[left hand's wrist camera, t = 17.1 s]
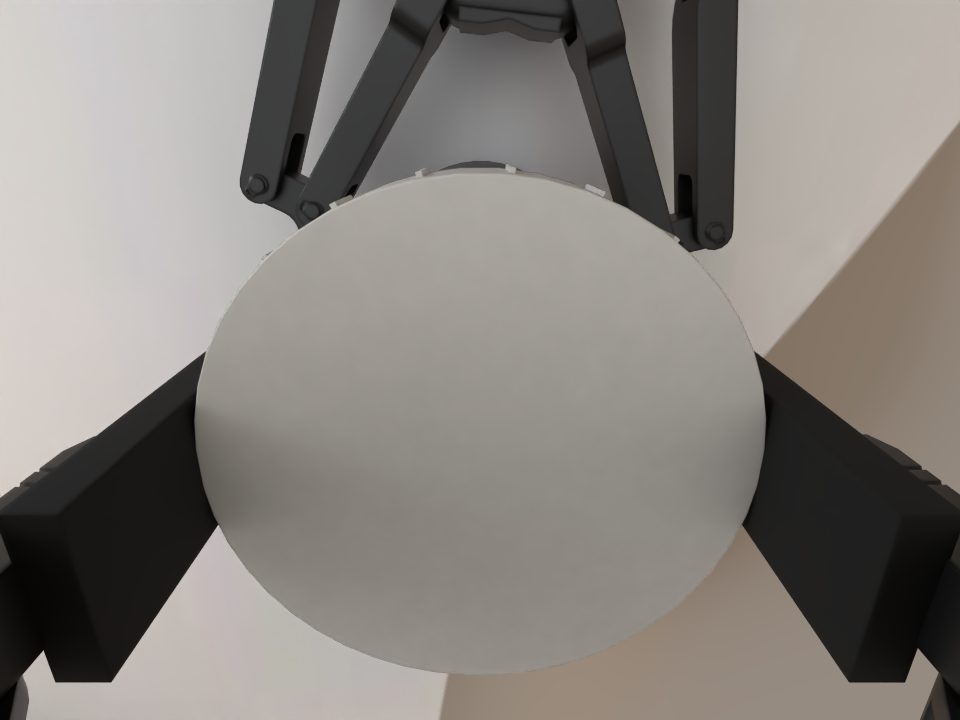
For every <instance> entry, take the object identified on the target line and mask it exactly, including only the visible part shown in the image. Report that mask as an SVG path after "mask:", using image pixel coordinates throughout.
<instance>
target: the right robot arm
mask: <svg viewBox="0 0 960 720" xmlns="http://www.w3.org/2000/svg"><path fill="white" fill-rule="evenodd" d="M339 2H340V0H274V2H273V8H272V13H271V18H270V23H269V29H268V34H267V39H266V44H265V50H264V55H263V60H262V65H261V71H260V76H259V81H258V86H257V92H256V97H255V102H254V107H253V113H252V118H251V123H250V128H249V134H248V139H247V144H246V149H245V155H244V160H243V165H242V170H241V176H240V187H241V190H242V193H243V194H244V195H245V196H246V198H247V199H248V200H250V201H252V202H254V203H259V204H263V203H264V204H266V205H268V206H271V207H273V208H275V209H277V210H279V211H281V212H283V213H285V214H287V215H288V216H290V217H291V218H292V219H293V220H294V222H295V223H296V225H297V227H298V229H301V228H302V227H304V226H305V225H307V224H308V223H310V222H312V221H313V220H315V219H316V218H318V217H320V216H321V215H323V214H324V213H326V212H327V211H329V210H331V207H330V206H329V204H331V203H333V202H335V201H337V200H340V199H342V198H344V197H347V196H349V195H352V197H354V196H355V194H356V192H357V190H358V188H359V187H360V185H361V183H362V181H363V179H364V177H365V176H366V174H367V172H368V170H369V168H370V167H371V165H372V163H373V161H374V159H375V158H376V156H377V154H378V152H379V150H380V148H381V147H382V145H383V143H384V141H385V139H386V138H387V136H388V134H389V132H390V130H391V129H392V127H393V125H394V123H395V121H396V120H397V118H398V116H399V114H400V112H401V110H402V109H403V107H404V105H405V103H406V101H407V100H408V98H409V96H410V94H411V92H412V91H413V89H414V87H415V85H416V83H417V81H418V80H419V78H420V76H421V74H422V72H423V71H424V69H425V67H426V65H427V63H428V62H429V60H430V58H431V57H432V56H433V55H434V53H435V52H436V50H437V49H438V47H439V46H440V44H441V42H442V40H443V38H444V37H445V35H446V33H447V31H448V29H449V28H450V26H451V24H452V25H453V26H455V27H457V28H459V29H460V33H469V34H477V35H486V34H492V33H497V32H502V31H509V32H511V33H514V34H516V35H518V36H520V37H523V38H525V39H527V40H530V41H539V42H547V43H552V42H553V41H554V39H559V38H562V41H563V45H564V48H565V51H566V55H567V58H568V61H569V64H570V66H571V69H572V70H573V72H574V74H575V76H576V79H577V82H578V85H579V89H580V92H581V95H582V99H583V102H584V105H585V109H586V112H587V115H588V119H589V122H590V125H591V129H592V132H593V135H594V138H595V142H596V145H597V148H598V152H599V155H600V158H601V162H602V165H603V168H604V172H605V175H606V178H607V182H608V185H609V188H610V192H611V195H612V198H613V202H615V203H617V204H619V205H622V206H624V207H626V208H628V209H630V210H631V211H633V212H634V213H636V214H638V215H639V216H641V217H642V218H644V219H646V220H647V221H649V222H650V223H652V224H654V225H655V226H657V227H658V228H660V229H662V230H664V231H666V232H668V233H670V234H672V235H674V236H676V237H677V238H679V239H680V241H679V242H678V244H680V245H681V246H682V247H683V248H684V249H685V250H687V251H688V252H693V251H697V250H701V249H705V248H706V249H708V250H716V249H719V248H722V247H723V246H725V245H726V244H727V243H728V242H729V240H730V239H731V237H732V233H733V214H734V168H735V123H736V78H737V32H738V0H676V1H675V6H674V13H673V21H672V71H673V141H674V210H675V213H673V214H669V211H668V207H667V203H666V200H665V196H664V192H663V188H662V185H661V181H660V177H659V174H658V170H657V166H656V162H655V159H654V155H653V151H652V148H651V144H650V140H649V137H648V133H647V129H646V125H645V122H644V118H643V114H642V111H641V107H640V103H639V99H638V96H637V92H636V88H635V85H634V81H633V77H632V73H631V70H630V66H629V62H628V59H627V55H626V49H625V44H626V37H625V31H624V26H623V22H622V19H621V15H620V11H619V7H618V4H617V0H397V1H396V3H395V5H394V8H393V10H392V13H391V18H390V22H389V24H388V26H387V28H386V30H385V32H384V34H383V36H382V38H381V40H380V42H379V44H378V46H377V48H376V50H375V52H374V54H373V55H372V57H371V59H370V61H369V63H368V65H367V67H366V69H365V71H364V73H363V75H362V77H361V79H360V81H359V82H358V84H357V86H356V88H355V90H354V92H353V94H352V96H351V98H350V100H349V102H348V104H347V106H346V108H345V109H344V111H343V113H342V115H341V117H340V119H339V121H338V123H337V125H336V127H335V129H334V131H333V133H332V135H331V136H330V138H329V140H328V142H327V144H326V146H325V148H324V150H323V152H322V154H321V156H320V158H319V160H318V162H317V163H316V165H315V167H314V169H313V171H312V173H311V175H310V177H309V178H308V177H306V176H304V175H302V174H301V170H302V166H303V161H304V157H305V152H306V148H307V143H308V139H309V135H310V130H311V126H312V121H313V117H314V113H315V108H316V104H317V99H318V95H319V91H320V86H321V82H322V77H323V73H324V68H325V64H326V60H327V55H328V51H329V46H330V42H331V38H332V33H333V29H334V24H335V20H336V15H337V11H338V7H339Z"/></svg>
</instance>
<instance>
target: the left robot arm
mask: <svg viewBox="0 0 960 720" xmlns="http://www.w3.org/2000/svg"><path fill="white" fill-rule="evenodd" d="M754 353H755V357H756V361H757V365H758V369H759V373H760V376H761V380H762V384H763V393H764V403H765V413H766V431H765V449H764V454H763V459H762V464H761V469H760V474H759V479H758V484H757V488H756V491H755V494H754V497H753V499H752V502H751V505H750V508H749V511H748V513H747V516H746V518H745V519H744V521H743V523H742V525H743V527H744V528H745V530H746V531H747V533H748V534H749V536H750V537H751V539H752V540H753V542H754V543H755V544H756V546H757V547H758V549H759V550H760V552H761V553H762V555H763V556H764V558H765V559H766V561H767V562H768V564H769V565H770V567H771V568H772V569H773V571H774V572H775V574H776V575H777V577H778V578H779V580H780V581H781V583H782V584H783V586H784V587H785V589H786V590H787V592H788V593H789V595H790V596H791V597H792V599H793V600H794V602H795V603H796V605H797V606H798V608H799V609H800V611H801V612H802V614H803V615H804V617H805V618H806V620H807V621H808V622H809V624H810V625H811V627H812V628H813V630H814V631H815V633H816V634H817V636H818V637H819V639H820V640H821V642H822V643H823V644H824V646H825V647H826V649H827V650H828V652H829V653H830V655H831V656H832V658H833V659H834V661H835V662H836V664H837V665H838V667H839V668H840V670H841V671H842V673H843V674H844V675H845V677H846V678H847V680H848V681H849V682H898V683H900V682H902V683H904V682H905V681H906V678H907V676H908V673H909V670H910V667H911V665H912V662H913V659H914V657H915V654H916V651H917V649H919V650H920V651H921V652H922V653H923V654H924V656H925V657H926V658H927V659H928V660H929V661H930V663H931V664H932V665H933V666H934V667H935V668H936V670H937V671H938V672H939V673H938V676H937V678H936V681H935V683H934V686H933V688H932V691H931V693H930V696H929V699H928V701H927V704H926V706H925V709H924V711H923V714H922V716H921V719H920V720H960V495H959V494H958V493H957V492H955V491H954V490H953V489H951V488H950V487H949V486H947V485H942V484H941V481H940V480H939V479H938V478H937V477H935V476H934V475H932V474H931V473H930V472H928V471H927V470H922V468H921V466H920V465H919V464H918V463H916V462H915V461H914V460H912V459H911V458H910V457H908V456H907V455H905V454H904V453H903V452H901V451H900V450H899V449H897V448H895V447H893V446H890V445H888V444H886V443H884V442H882V441H880V440H878V439H875V438H873V437H871V436H869V435H867V434H861V433H860V432H858V431H857V430H856V429H854V428H853V427H852V426H850V425H849V424H848V423H847V422H845V421H844V420H843V419H841V418H840V417H839V416H838V415H836V414H835V413H834V412H832V411H831V410H830V409H828V408H827V407H826V406H825V405H823V404H822V403H821V402H819V401H818V400H817V399H816V398H814V397H813V396H812V395H810V394H809V393H808V392H806V391H805V390H804V389H803V388H801V387H800V386H799V385H797V384H796V383H795V382H794V381H792V380H791V379H790V378H788V377H787V376H786V375H784V374H783V373H782V372H781V371H779V370H778V369H777V368H775V367H774V366H773V365H772V364H770V363H769V362H768V361H766V360H765V359H764V358H762V357H761V356H760V355H759V354H757V353H756V352H755V351H754ZM205 354H206V352H204V353H203V354H202V355H201V356H199V357H198V358H197V359H195V360H194V361H193V362H191V363H190V364H189V365H188V366H186V367H185V368H184V369H182V370H181V371H180V372H179V373H177V374H176V375H175V376H173V377H172V378H171V379H169V380H168V381H167V382H166V383H164V384H163V385H162V386H160V387H159V388H158V389H157V390H155V391H154V392H153V393H151V394H150V395H149V396H147V397H146V398H145V399H144V400H142V401H141V402H140V403H138V404H137V405H136V406H135V407H133V408H132V409H131V410H129V411H128V412H127V413H125V414H124V415H123V416H122V417H120V418H119V419H118V420H116V421H115V422H114V423H113V424H111V425H110V426H109V427H107V428H106V429H105V430H103V431H102V432H101V433H100V434H98V435H97V436H94V437H92V438H90V439H88V440H86V441H83V442H81V443H79V444H77V445H75V446H73V447H71V448H69V449H66V450H64V451H62V452H61V453H60V454H58V455H57V456H56V457H54V458H53V459H52V460H50V461H49V462H48V463H46V464H45V465H44V466H42V467H41V468H40V471H39V472H34V473H33V474H32V475H30V476H29V477H28V478H26V479H25V480H24V481H22V482H21V483H20V487H14V488H13V489H12V490H10V491H9V492H8V493H6V494H5V495H4V496H2V497H1V498H0V720H26V715H27V710H28V704H29V696H28V689H27V686H26V683H25V681H24V678H23V676H22V675H23V673H24V672H25V671H26V670H27V669H28V668H29V666H30V665H31V664H32V663H33V662H34V661H35V659H36V658H37V657H38V656H39V655H40V654H41V652H42V651H43V650H44V653H45V655H46V658H47V661H48V663H49V666H50V669H51V672H52V674H53V677H54V680H55V682H112V680H113V679H114V678H115V676H116V675H117V673H118V672H119V670H120V669H121V667H122V666H123V664H124V663H125V661H126V660H127V658H128V657H129V655H130V654H131V652H132V651H133V650H134V648H135V647H136V645H137V644H138V642H139V641H140V639H141V638H142V636H143V635H144V633H145V632H146V630H147V629H148V627H149V626H150V625H151V623H152V622H153V620H154V619H155V617H156V616H157V614H158V613H159V611H160V610H161V608H162V607H163V605H164V604H165V602H166V601H167V599H168V598H169V597H170V595H171V594H172V592H173V591H174V589H175V588H176V586H177V585H178V583H179V582H180V580H181V579H182V577H183V576H184V574H185V573H186V572H187V570H188V569H189V567H190V566H191V564H192V563H193V561H194V560H195V558H196V557H197V555H198V554H199V552H200V551H201V549H202V548H203V546H204V545H205V544H206V542H207V541H208V539H209V538H210V536H211V535H212V533H213V532H214V530H215V529H216V527H217V526H218V522H217V521H216V519H215V517H214V515H213V512H212V509H211V506H210V504H209V501H208V498H207V495H206V493H205V490H204V486H203V481H202V476H201V471H200V467H199V462H198V457H197V452H196V441H195V424H194V418H195V408H196V397H197V386H198V382H199V378H200V374H201V370H202V366H203V362H204V358H205Z"/></svg>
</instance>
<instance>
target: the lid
mask: <svg viewBox="0 0 960 720" xmlns="http://www.w3.org/2000/svg"><path fill="white" fill-rule="evenodd" d="M415 174H416V175H415V176H412V177H408V178H405V179H401V180H398V181H395V182H391V183H388V184H385V185H383V186H381V187H379V188H376V189H374V190H372V191H370V192H367V193H365V194H363V195H361V196H359V197H356V198H354V199H353V197H352V195H349V196H347V197H344V198H342V199H340V200H337V201H335V202H333V203H331V204H329V206H330V207H331V210H329V211H327V212H326V213H324V214H323V215H321V216H320V217H318V218H316V219H315V220H313V221H312V222H310V223H308V224H307V225H305V226H304V227H302V228H301V229H299V230H297V231H296V232H295V233H294V234H292V235H291V236H290V237H289V238H288V239H287V240H285V241H284V242H283V243H282V244H281V245H280V246H278V247H277V248H276V249H275V250H273V251H271V252H269V253H267V254H266V255H265V256H264V257H263V258H262V260H263V261H262V262H261V263H260V265H259V266H258V267H257V268H256V269H255V270H254V272H253V273H252V274H251V275H250V276H249V277H248V279H247V280H246V281H245V282H244V283H243V284H242V285H241V287H240V288H239V290H238V291H237V293H236V294H235V296H234V298H233V299H232V301H231V302H230V304H229V306H228V307H227V309H226V311H225V312H224V314H223V315H222V317H221V319H220V321H219V323H218V325H217V328H216V330H215V332H214V335H213V337H212V339H211V342H210V344H209V346H208V349H207V351H206V354H205V358H204V362H203V366H202V370H201V374H200V378H199V382H198V386H197V397H196V408H195V418H194V424H195V441H196V452H197V457H198V462H199V467H200V471H201V476H202V481H203V486H204V490H205V493H206V495H207V498H208V501H209V504H210V506H211V509H212V512H213V515H214V517H215V519H216V521H217V522H218V524H219V526H220V528H221V530H222V532H223V534H224V536H225V538H226V540H227V541H228V543H229V545H230V546H231V548H232V549H233V550H234V552H235V553H236V555H237V556H238V558H239V559H240V560H241V562H242V563H243V565H244V566H245V567H246V569H247V570H248V571H249V572H250V573H251V574H252V575H253V577H254V578H255V579H256V580H257V581H258V582H259V583H260V584H261V585H262V586H263V588H264V589H265V590H266V591H267V592H268V593H269V594H270V595H272V596H273V597H274V598H275V599H276V600H277V601H278V602H280V603H281V604H282V605H283V606H284V607H285V608H287V609H288V610H289V611H290V612H291V613H293V614H294V615H295V616H297V617H298V618H300V619H301V620H303V621H304V622H306V623H307V624H309V625H310V626H311V627H313V628H314V629H316V630H317V631H319V632H321V633H323V634H325V635H327V636H328V637H330V638H332V639H334V640H336V641H338V642H340V643H341V644H343V645H345V646H348V647H350V648H353V649H355V650H357V651H360V652H362V653H365V654H367V655H370V656H372V657H375V658H378V659H382V660H385V661H388V662H392V663H395V664H398V665H402V666H406V667H411V668H416V669H421V670H427V671H432V672H440V673H450V674H461V675H500V674H510V673H520V672H529V671H534V670H539V669H544V668H549V667H554V666H559V665H562V664H565V663H569V662H572V661H575V660H579V659H582V658H586V657H589V656H591V655H593V654H596V653H598V652H601V651H603V650H605V649H608V648H610V647H613V646H615V645H617V644H619V643H621V642H623V641H625V640H626V639H628V638H630V637H632V636H634V635H636V634H638V633H639V632H641V631H643V630H645V629H646V628H648V627H649V626H651V625H652V624H653V623H655V622H656V621H658V620H659V619H661V618H662V617H664V616H665V615H666V614H668V613H669V612H671V611H672V610H673V609H674V608H675V607H676V606H677V605H679V604H680V603H681V602H682V601H683V600H684V599H685V598H687V597H688V596H689V595H690V594H691V593H692V592H693V591H694V590H695V589H696V588H697V587H698V586H699V585H700V584H701V583H702V582H703V580H704V579H705V578H706V577H707V576H708V575H709V574H710V573H711V572H712V570H713V569H714V568H715V567H716V565H717V564H718V562H719V561H720V560H721V558H722V557H723V555H724V554H725V552H726V551H727V550H728V548H729V547H730V545H731V544H732V542H733V541H734V538H735V537H736V535H737V533H738V531H739V529H740V527H741V525H742V523H743V521H744V519H745V518H746V516H747V513H748V511H749V508H750V505H751V502H752V499H753V497H754V494H755V491H756V488H757V484H758V479H759V474H760V469H761V464H762V459H763V454H764V449H765V431H766V413H765V403H764V393H763V384H762V380H761V376H760V373H759V369H758V365H757V361H756V357H755V353H754V350H753V348H752V345H751V343H750V341H749V338H748V336H747V334H746V332H745V329H744V327H743V325H742V322H741V320H740V318H739V316H738V315H737V313H736V311H735V310H734V308H733V307H732V305H731V303H730V301H729V300H728V299H727V297H726V296H725V294H724V292H723V291H722V289H721V288H720V286H719V285H718V284H717V283H716V281H715V280H714V279H713V278H712V277H711V276H710V275H709V273H708V272H707V271H706V270H705V269H704V268H703V267H702V265H701V264H700V263H699V262H698V261H697V260H696V259H695V257H694V256H693V255H691V254H690V253H689V252H688V251H687V250H685V249H684V248H683V247H682V246H681V245H680V244H678V242H679V241H680V239H679V238H677V237H676V236H674V235H672V234H670V233H668V232H666V231H664V230H662V229H660V228H658V227H657V226H655V225H654V224H652V223H650V222H649V221H647V220H646V219H644V218H642V217H641V216H639V215H638V214H636V213H634V212H633V211H631V210H630V209H628V208H626V207H624V206H622V205H619V204H617V203H615V202H613V201H611V200H609V199H607V198H604V196H605V194H606V192H605V191H603V190H601V189H598V188H596V187H593V186H591V185H589V184H586V186H585V189H584V188H582V187H579V186H577V185H575V184H573V183H570V182H566V181H563V180H559V179H555V178H552V177H548V176H545V175H541V174H538V173H533V172H525V171H518V170H516V167H515V166H513V165H512V164H506V169H503V168H457V169H450V170H442V171H435V172H429V168H428V167H427V168H423V169H421V170H419V171H417V172H415Z"/></svg>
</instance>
